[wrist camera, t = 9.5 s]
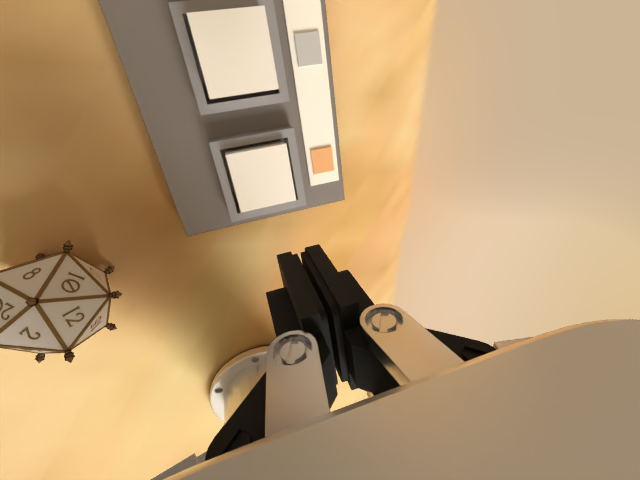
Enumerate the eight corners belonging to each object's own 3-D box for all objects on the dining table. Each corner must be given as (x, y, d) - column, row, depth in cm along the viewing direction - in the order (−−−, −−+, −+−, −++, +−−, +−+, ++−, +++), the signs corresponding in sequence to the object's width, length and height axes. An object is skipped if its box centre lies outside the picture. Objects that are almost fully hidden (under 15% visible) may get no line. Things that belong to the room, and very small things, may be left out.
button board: (337, 193, 30) (350, 204, 27) (189, 227, 27) (185, 244, 24) (296, -179, 19) (311, -231, 16) (38, -185, 16) (-5, -250, 13)
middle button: (274, 89, 22) (278, 89, 20) (210, 98, 21) (209, 99, 19) (260, 13, 20) (264, 5, 18) (189, 20, 19) (186, 12, 17)
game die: (73, 267, 29) (-73, 344, 21) (73, 201, 24) (-117, 269, 16) (148, 322, 29) (30, 421, 21) (164, 267, 24) (16, 369, 16)
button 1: (291, 193, 26) (296, 200, 24) (239, 204, 25) (240, 212, 23) (281, 140, 24) (286, 143, 22) (225, 150, 23) (225, 155, 21)
